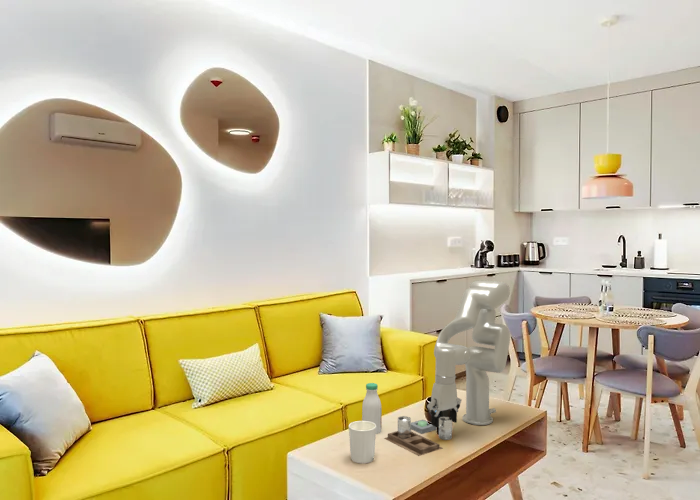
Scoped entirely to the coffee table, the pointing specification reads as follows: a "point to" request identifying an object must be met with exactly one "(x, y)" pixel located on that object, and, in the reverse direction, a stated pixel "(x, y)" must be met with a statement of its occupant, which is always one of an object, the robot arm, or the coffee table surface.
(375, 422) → the milk bottle
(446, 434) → the silver rounded cylinder
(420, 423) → the button
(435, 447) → the brown cruet tray
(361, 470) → the coffee table surface
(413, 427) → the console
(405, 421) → the cylinder
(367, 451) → the white cup
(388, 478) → the coffee table surface
